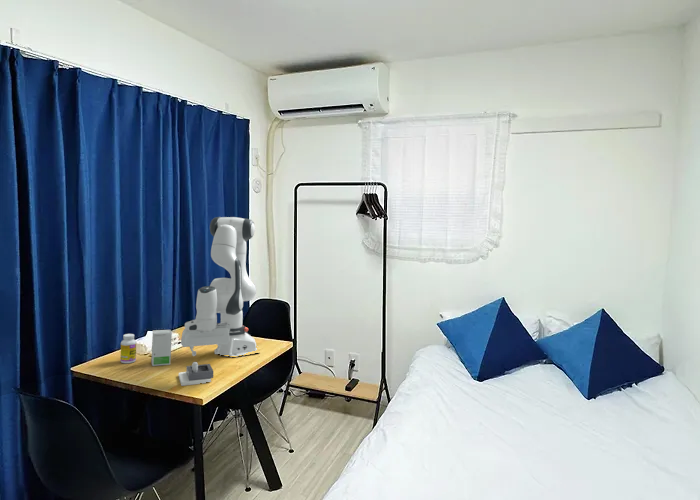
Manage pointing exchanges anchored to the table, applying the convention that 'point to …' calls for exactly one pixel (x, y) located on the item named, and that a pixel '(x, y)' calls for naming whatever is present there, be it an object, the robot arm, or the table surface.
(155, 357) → the skincare box
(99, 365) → the table surface
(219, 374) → the table surface
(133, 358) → the supplement bottle
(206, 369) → the gray square tray
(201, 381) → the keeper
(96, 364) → the table surface
